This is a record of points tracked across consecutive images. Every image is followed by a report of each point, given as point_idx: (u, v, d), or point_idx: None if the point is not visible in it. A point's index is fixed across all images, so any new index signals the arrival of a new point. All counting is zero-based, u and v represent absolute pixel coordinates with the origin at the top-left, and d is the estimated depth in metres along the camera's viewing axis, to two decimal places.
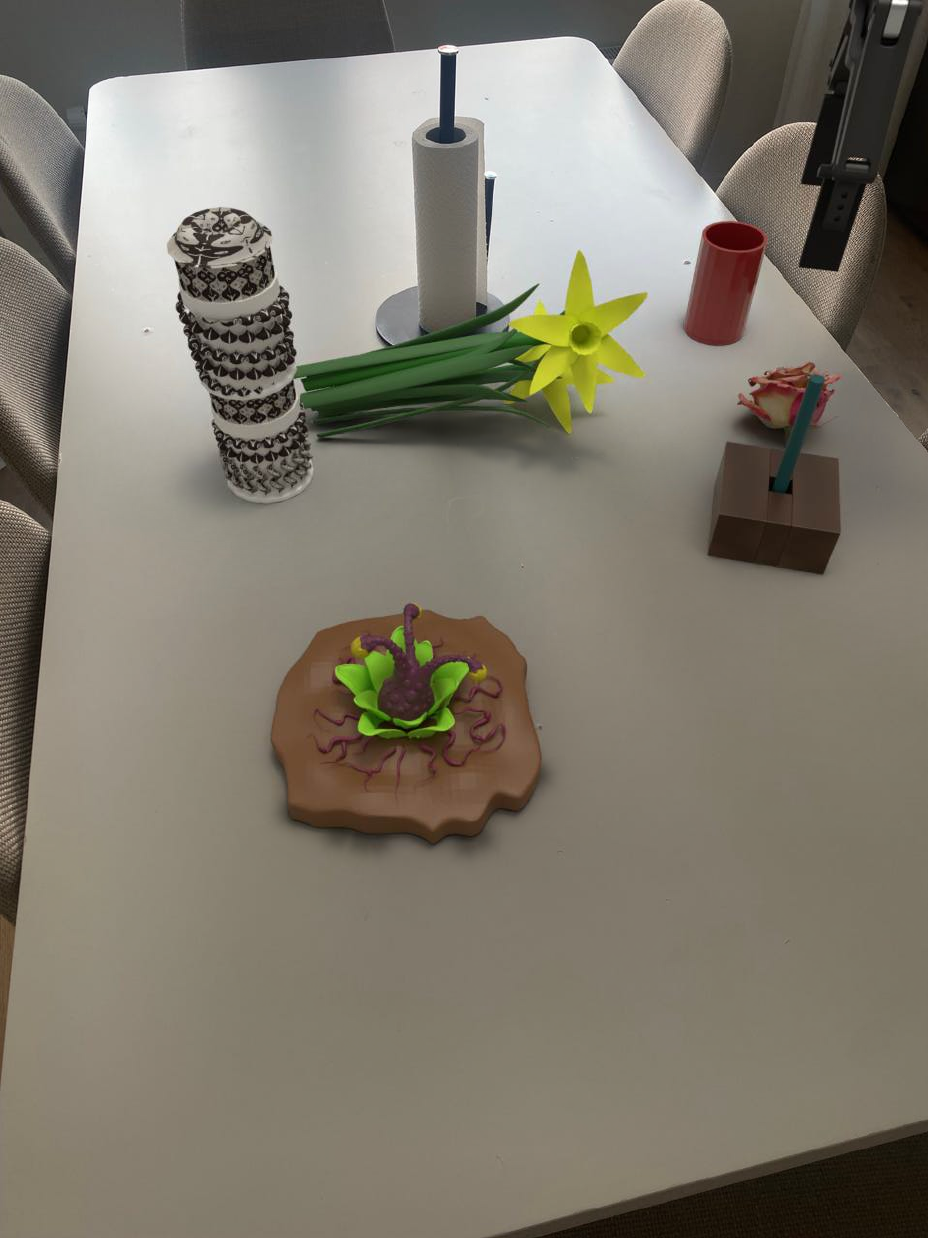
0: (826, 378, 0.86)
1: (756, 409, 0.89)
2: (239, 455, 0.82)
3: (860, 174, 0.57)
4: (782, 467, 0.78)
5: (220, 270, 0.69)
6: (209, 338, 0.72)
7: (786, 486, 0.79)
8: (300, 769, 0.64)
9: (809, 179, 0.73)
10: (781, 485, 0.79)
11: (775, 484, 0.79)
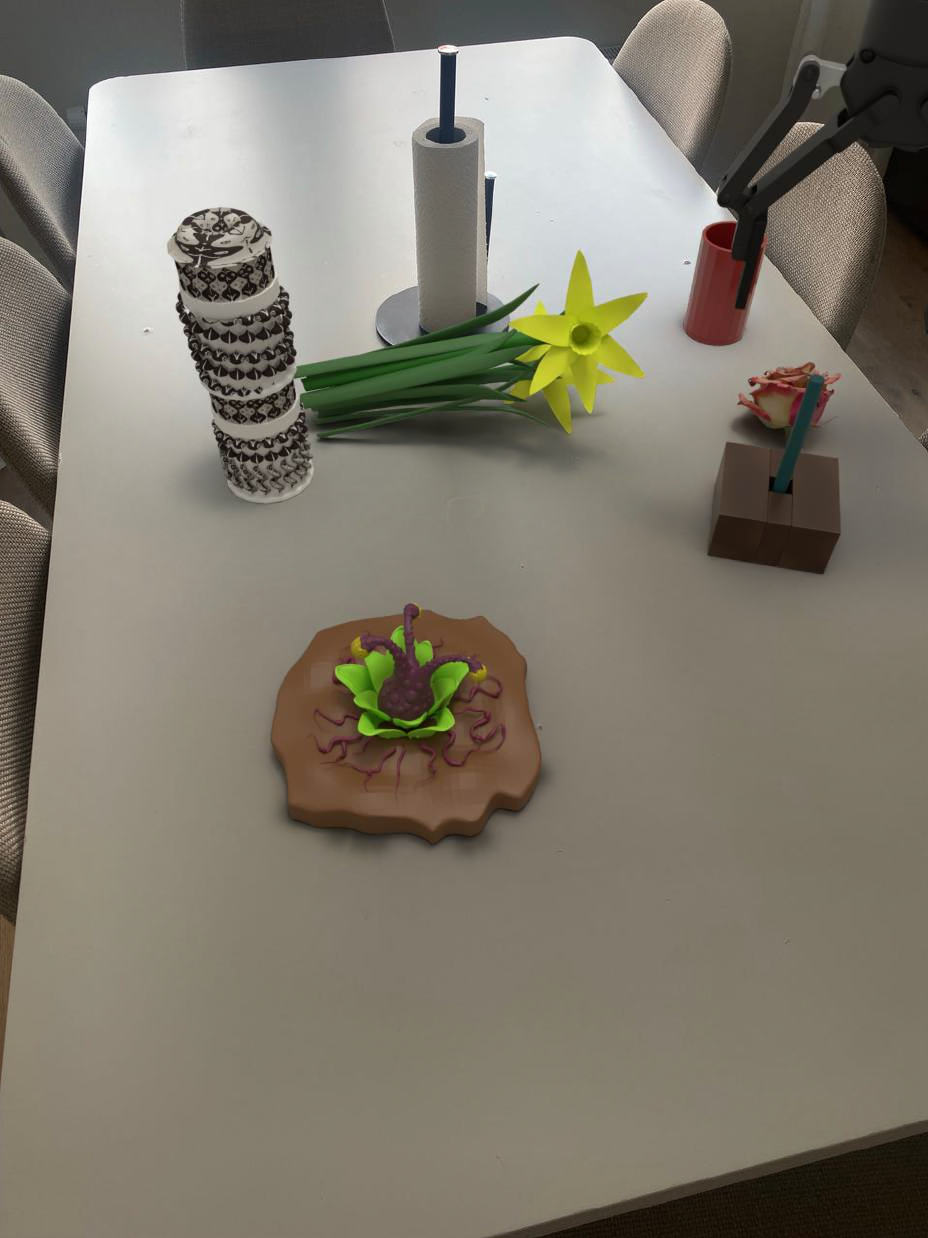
0: (826, 378, 0.86)
1: (756, 409, 0.89)
2: (239, 455, 0.82)
3: (718, 190, 0.63)
4: (782, 467, 0.78)
5: (221, 270, 0.69)
6: (209, 338, 0.72)
7: (786, 486, 0.79)
8: (300, 769, 0.64)
9: (925, 312, 0.67)
10: (781, 485, 0.79)
11: (775, 484, 0.79)
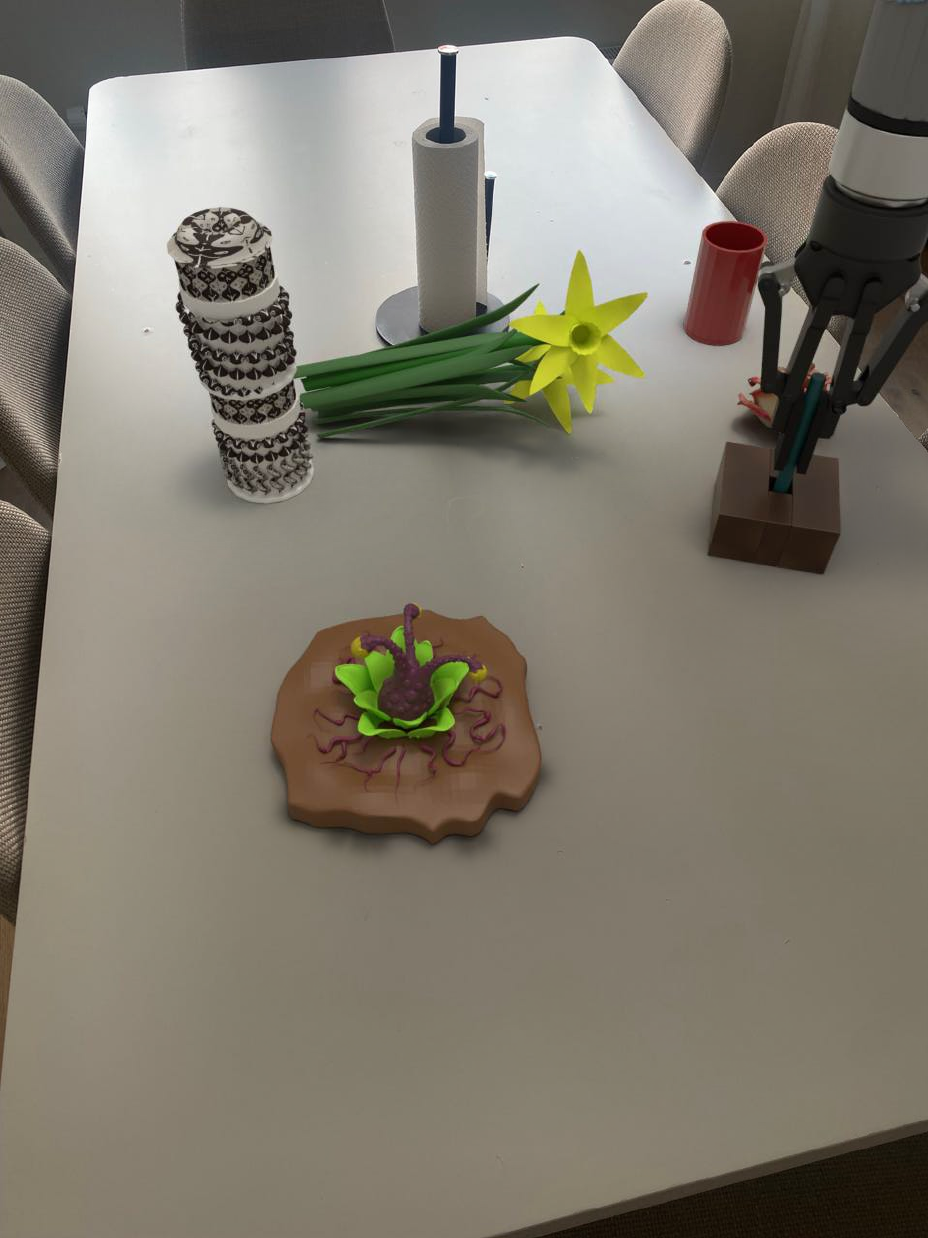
0: (826, 378, 0.86)
1: (756, 409, 0.89)
2: (239, 455, 0.82)
3: None
4: None
5: (220, 270, 0.69)
6: (209, 338, 0.72)
7: (788, 485, 0.79)
8: (300, 769, 0.64)
9: None
10: (783, 484, 0.79)
11: (777, 483, 0.79)
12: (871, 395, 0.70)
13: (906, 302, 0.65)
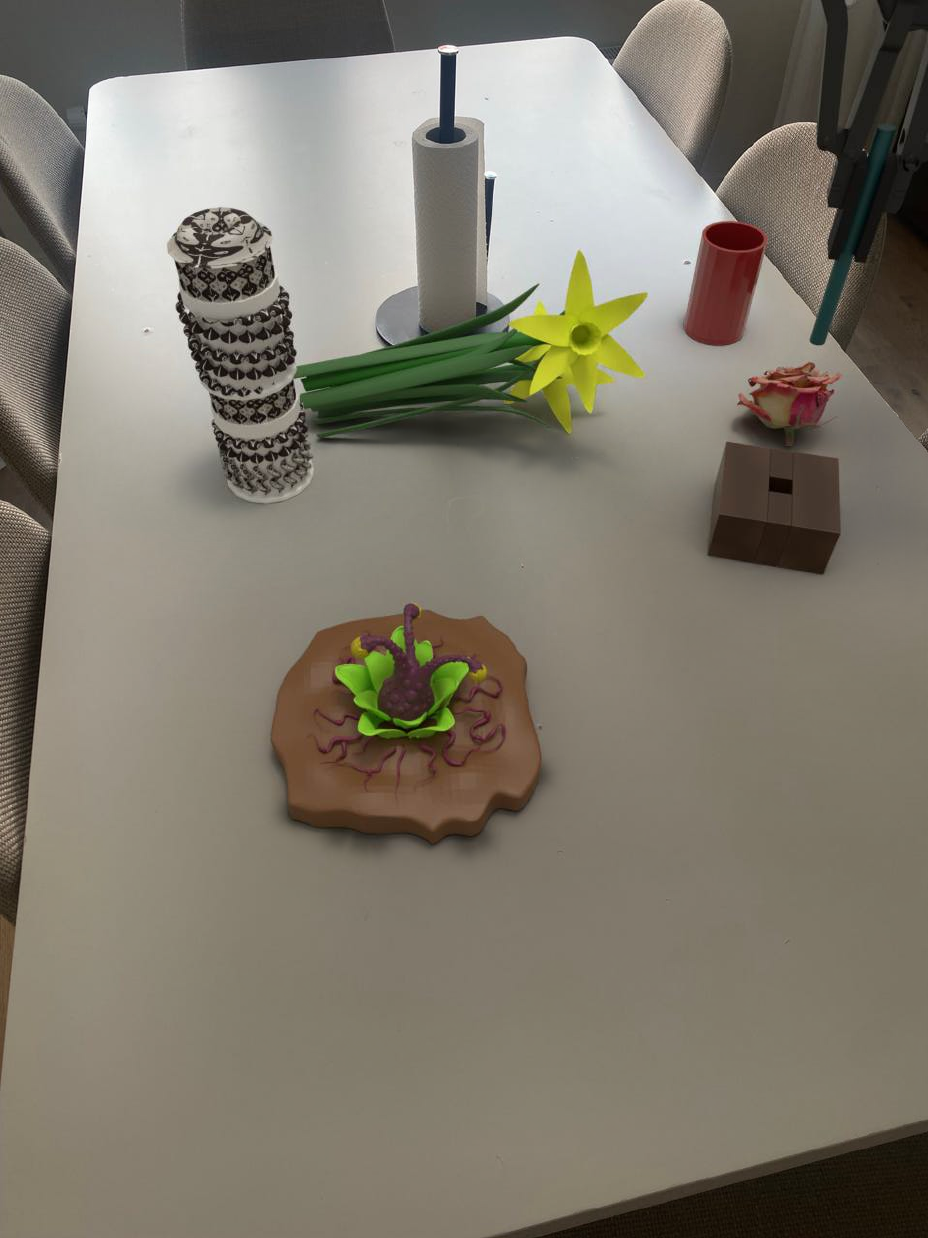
0: (826, 378, 0.86)
1: (756, 409, 0.89)
2: (239, 455, 0.82)
3: None
4: None
5: (221, 270, 0.69)
6: (209, 338, 0.72)
7: (843, 282, 0.68)
8: (300, 769, 0.64)
9: None
10: (837, 281, 0.67)
11: (830, 281, 0.68)
12: None
13: None
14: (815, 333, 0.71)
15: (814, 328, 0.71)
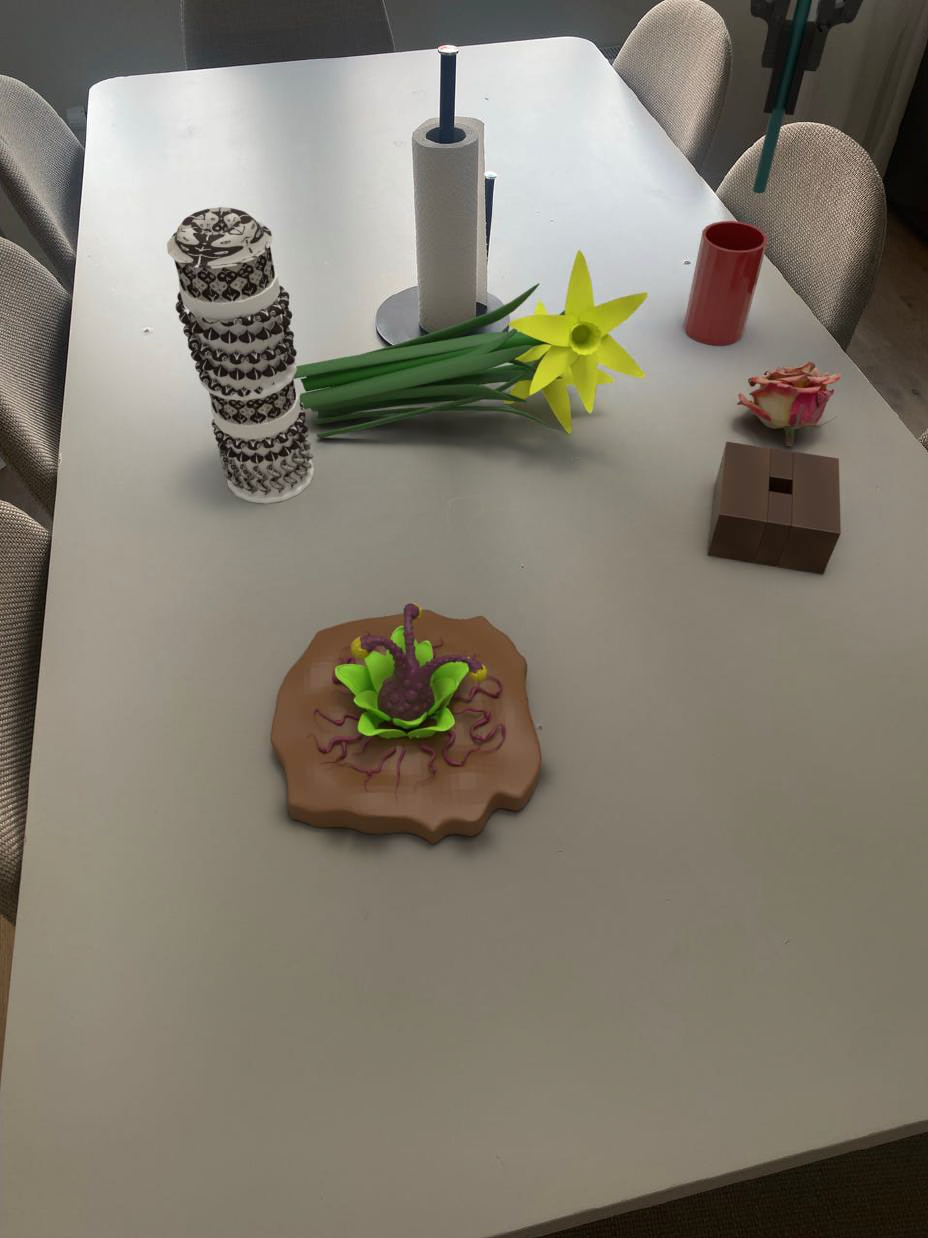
0: (826, 378, 0.86)
1: (756, 409, 0.89)
2: (239, 455, 0.82)
3: None
4: (773, 111, 0.82)
5: (221, 270, 0.69)
6: (209, 338, 0.72)
7: (777, 135, 0.83)
8: (300, 769, 0.64)
9: None
10: (772, 133, 0.83)
11: (766, 134, 0.84)
12: (854, 8, 0.74)
13: None
14: (756, 182, 0.87)
15: (756, 178, 0.87)
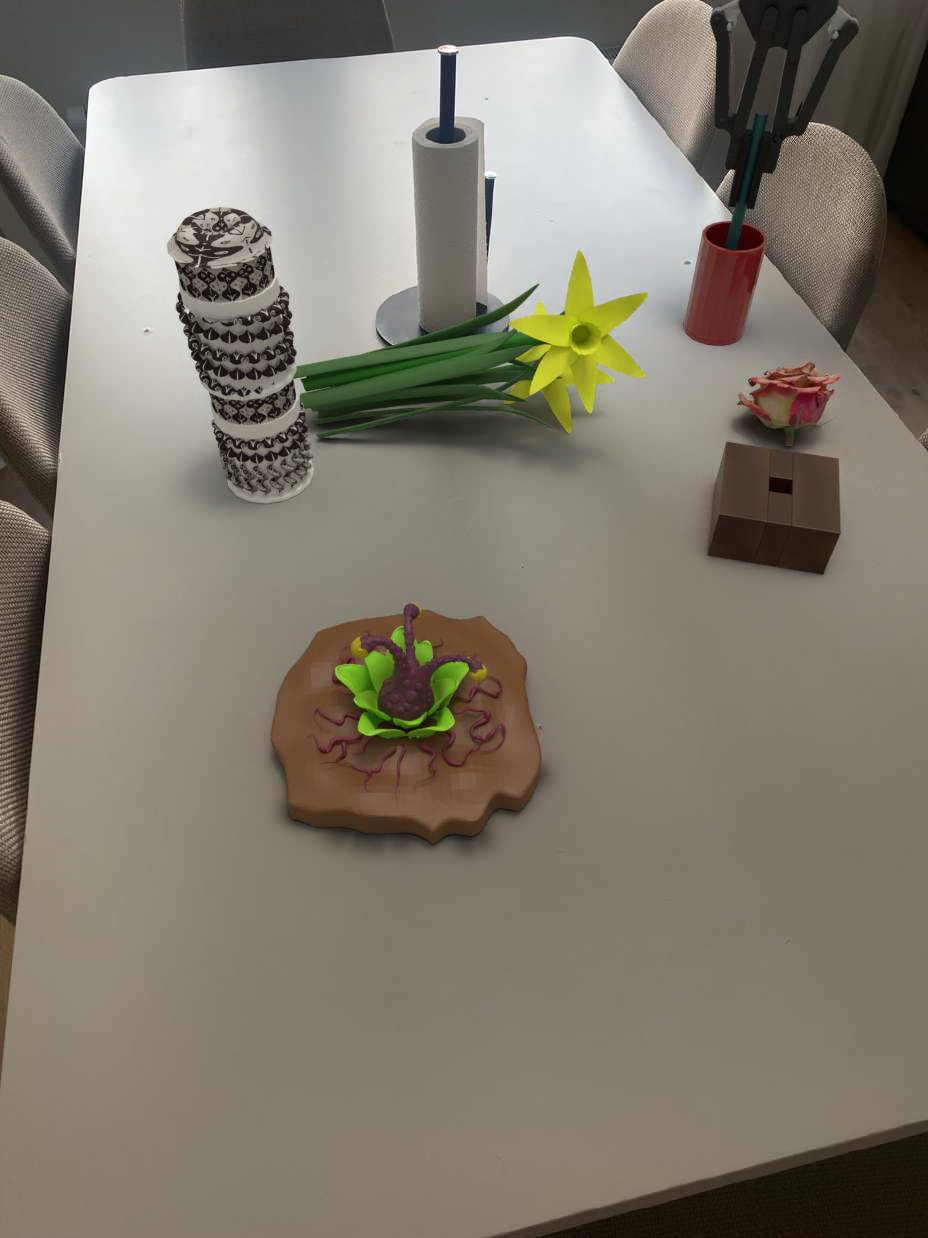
0: (826, 378, 0.86)
1: (756, 409, 0.89)
2: (239, 455, 0.82)
3: None
4: (736, 204, 0.94)
5: (220, 270, 0.69)
6: (209, 338, 0.72)
7: (740, 224, 0.95)
8: (300, 769, 0.64)
9: None
10: (736, 223, 0.95)
11: (731, 223, 0.95)
12: (804, 124, 0.86)
13: (828, 32, 0.81)
14: None
15: None
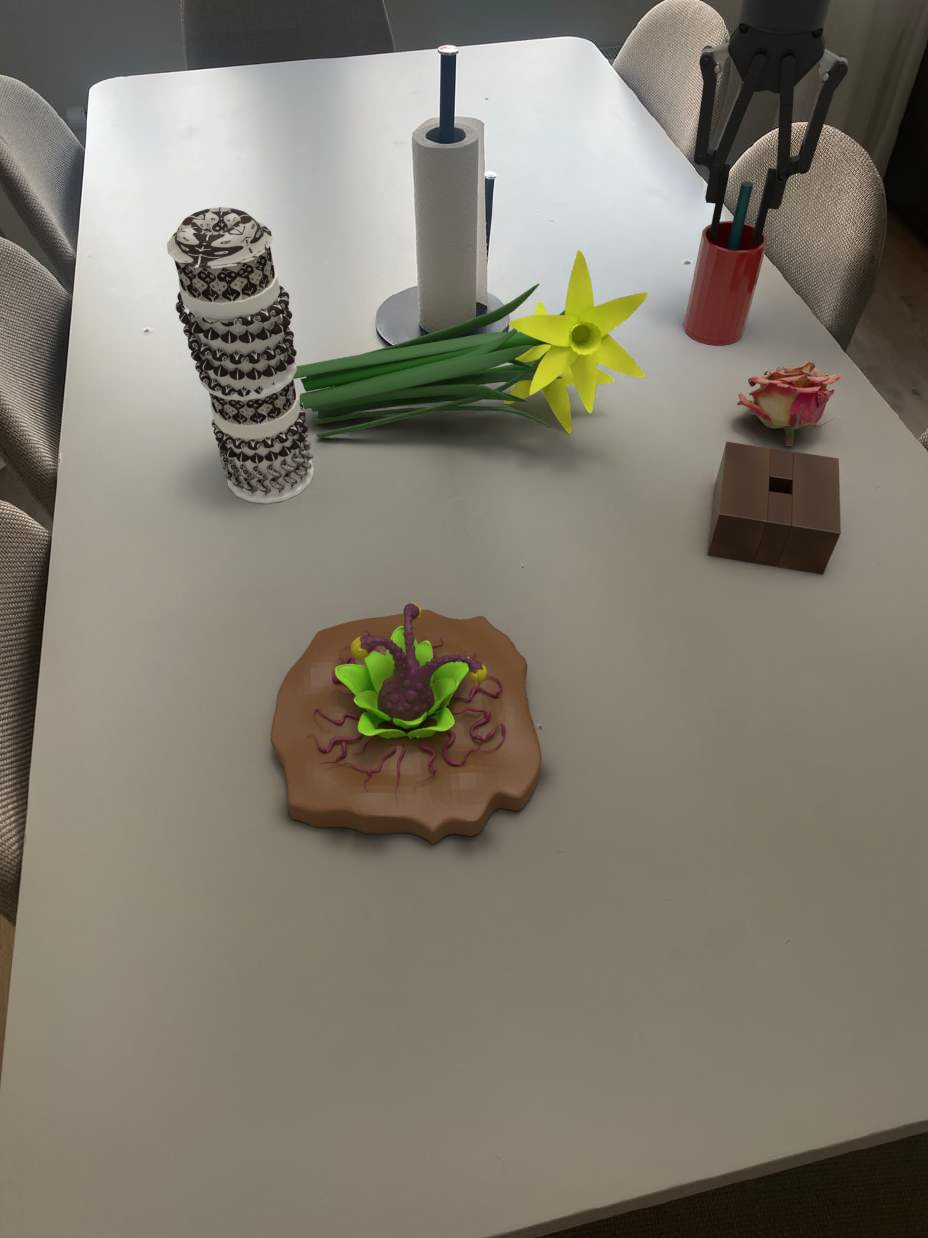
0: (826, 378, 0.86)
1: (756, 409, 0.89)
2: (239, 455, 0.82)
3: None
4: None
5: (220, 270, 0.69)
6: (209, 338, 0.72)
7: None
8: (300, 769, 0.64)
9: (754, 229, 0.96)
10: None
11: None
12: (807, 162, 0.88)
13: (819, 75, 0.83)
14: None
15: None
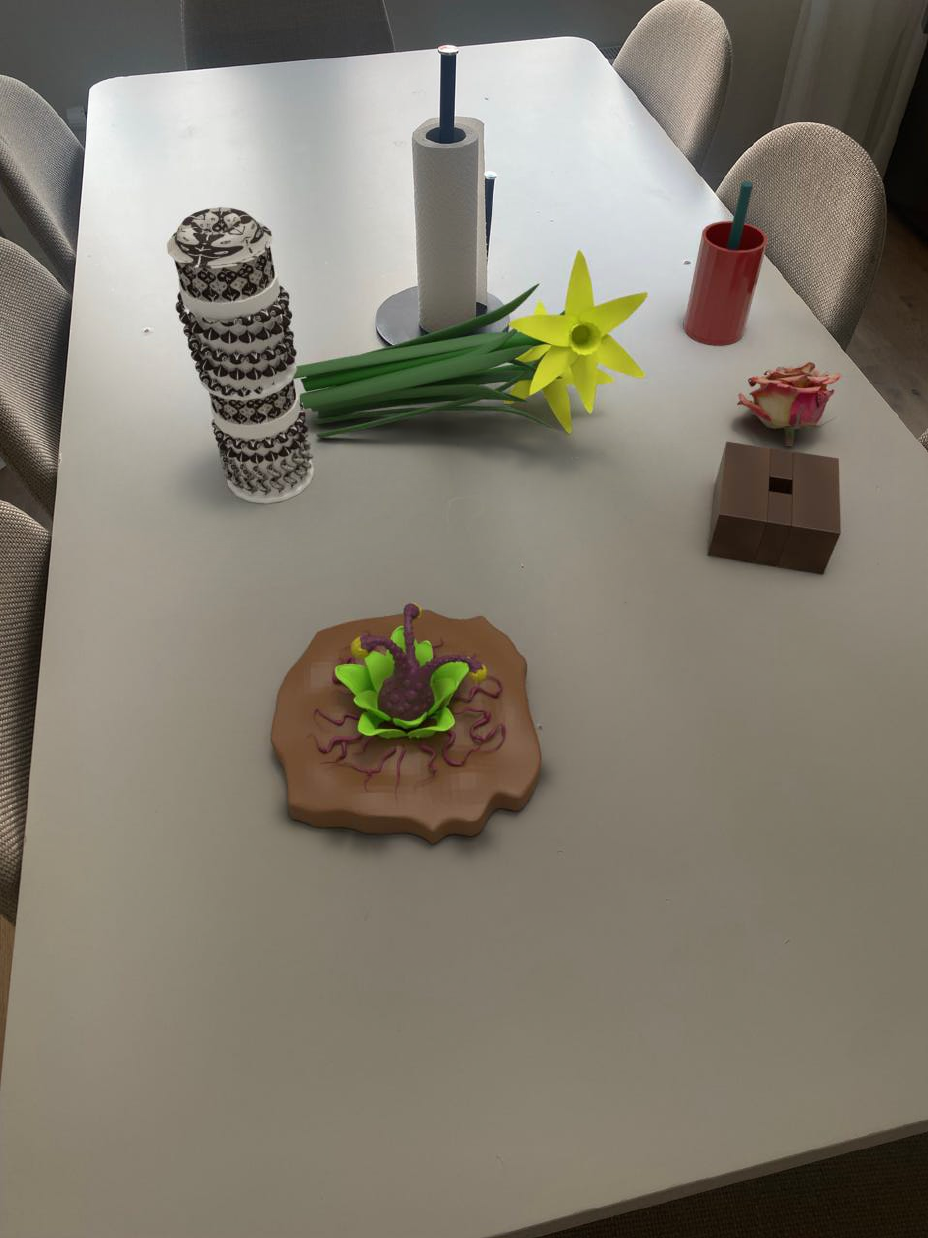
0: (826, 378, 0.86)
1: (756, 409, 0.89)
2: (239, 455, 0.82)
3: None
4: None
5: (220, 270, 0.69)
6: (209, 338, 0.72)
7: None
8: (300, 769, 0.64)
9: None
10: None
11: None
12: None
13: None
14: None
15: None
